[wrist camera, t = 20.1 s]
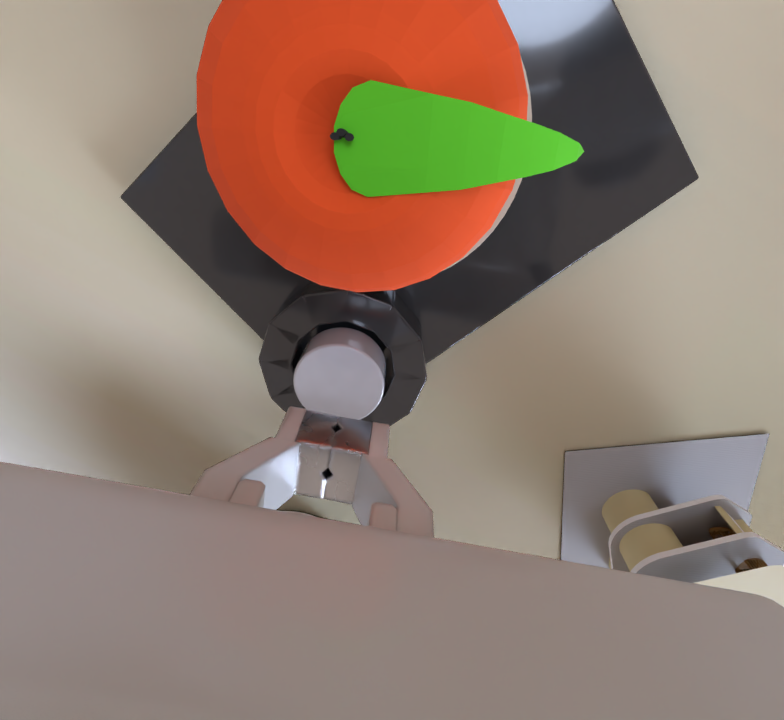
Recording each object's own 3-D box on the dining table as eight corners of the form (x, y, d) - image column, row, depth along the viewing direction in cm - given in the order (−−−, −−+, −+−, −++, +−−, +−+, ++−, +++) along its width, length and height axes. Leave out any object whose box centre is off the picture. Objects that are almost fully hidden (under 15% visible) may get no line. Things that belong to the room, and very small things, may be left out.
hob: (499, -210, 12) (520, -287, 10) (695, 189, 16) (741, 199, 14) (120, 204, 17) (76, 215, 15) (344, 426, 21) (336, 461, 19)
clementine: (558, -9, 12) (738, -172, 5) (511, 261, 15) (588, 362, 8) (244, -29, 12) (48, -213, 5) (263, 245, 15) (155, 334, 8)
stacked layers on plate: (727, 582, 25) (804, 692, 20) (559, 592, 26) (594, 701, 21) (768, 433, 21) (881, 528, 16) (564, 450, 21) (610, 547, 17)
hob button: (347, 309, 16) (342, 326, 15) (403, 372, 17) (403, 393, 16) (284, 358, 17) (273, 379, 16) (340, 415, 18) (335, 438, 17)
